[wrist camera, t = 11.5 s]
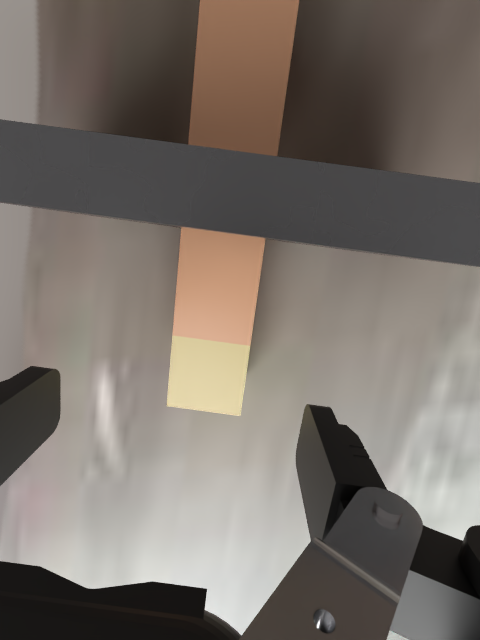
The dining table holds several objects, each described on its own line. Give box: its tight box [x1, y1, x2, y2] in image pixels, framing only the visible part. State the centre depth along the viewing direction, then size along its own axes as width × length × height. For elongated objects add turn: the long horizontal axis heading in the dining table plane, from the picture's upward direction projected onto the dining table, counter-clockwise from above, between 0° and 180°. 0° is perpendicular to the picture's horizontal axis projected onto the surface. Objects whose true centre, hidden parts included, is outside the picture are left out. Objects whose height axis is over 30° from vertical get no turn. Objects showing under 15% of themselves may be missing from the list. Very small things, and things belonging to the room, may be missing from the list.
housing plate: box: [0, 120, 480, 267], centre depth 14 cm, size 18×2×12 cm, turn 83°
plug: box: [167, 0, 299, 416], centre depth 18 cm, size 4×20×5 cm, turn 173°
